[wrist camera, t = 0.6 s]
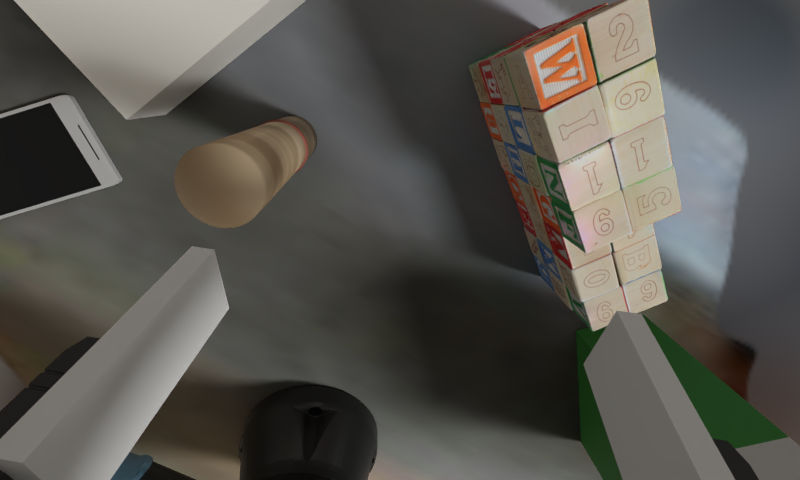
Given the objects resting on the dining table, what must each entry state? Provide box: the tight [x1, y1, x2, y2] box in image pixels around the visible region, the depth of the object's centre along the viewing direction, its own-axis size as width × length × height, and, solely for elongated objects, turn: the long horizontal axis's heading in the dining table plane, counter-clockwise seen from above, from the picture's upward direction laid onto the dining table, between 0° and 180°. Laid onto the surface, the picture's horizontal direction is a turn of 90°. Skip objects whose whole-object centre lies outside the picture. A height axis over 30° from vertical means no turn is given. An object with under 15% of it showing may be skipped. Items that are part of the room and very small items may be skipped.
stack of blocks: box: [469, 0, 681, 332], centre depth 27 cm, size 21×6×12 cm, turn 25°
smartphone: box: [0, 95, 122, 219], centre depth 29 cm, size 7×15×1 cm, turn 105°
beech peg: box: [174, 116, 317, 228], centre depth 23 cm, size 4×4×16 cm
